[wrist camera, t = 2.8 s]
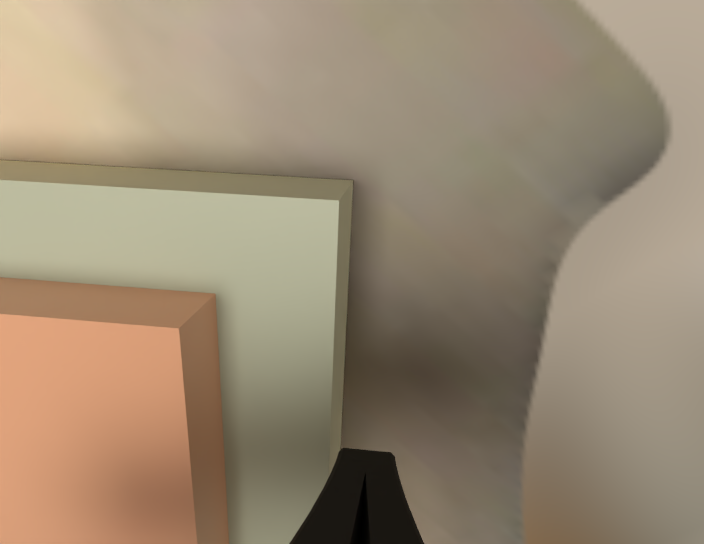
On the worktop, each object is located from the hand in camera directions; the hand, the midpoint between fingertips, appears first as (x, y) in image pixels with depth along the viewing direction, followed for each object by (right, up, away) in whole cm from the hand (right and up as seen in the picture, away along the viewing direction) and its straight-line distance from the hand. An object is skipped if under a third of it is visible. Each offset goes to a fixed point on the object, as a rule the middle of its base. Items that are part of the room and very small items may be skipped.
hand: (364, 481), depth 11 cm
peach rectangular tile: (-7, +1, +1) cm, 7 cm away
